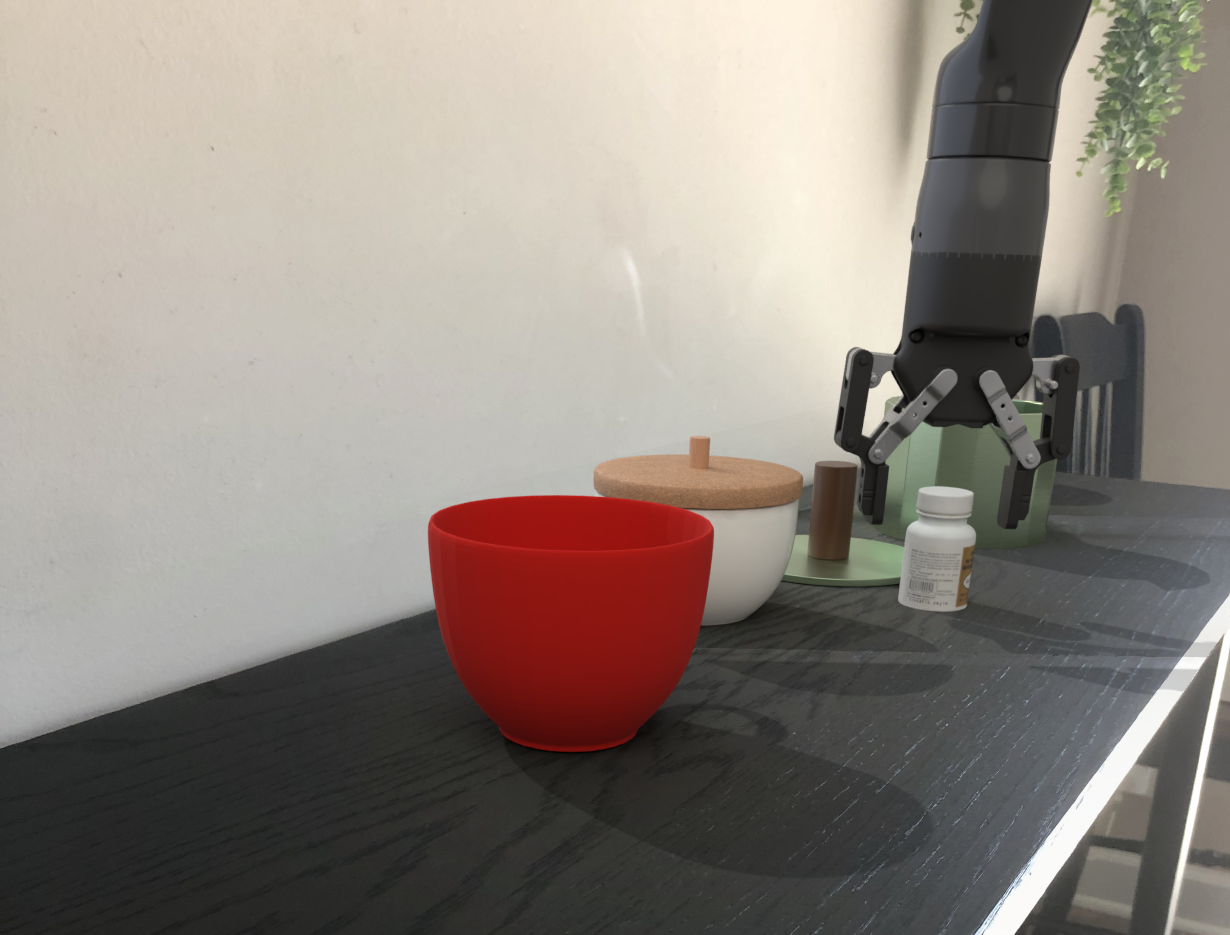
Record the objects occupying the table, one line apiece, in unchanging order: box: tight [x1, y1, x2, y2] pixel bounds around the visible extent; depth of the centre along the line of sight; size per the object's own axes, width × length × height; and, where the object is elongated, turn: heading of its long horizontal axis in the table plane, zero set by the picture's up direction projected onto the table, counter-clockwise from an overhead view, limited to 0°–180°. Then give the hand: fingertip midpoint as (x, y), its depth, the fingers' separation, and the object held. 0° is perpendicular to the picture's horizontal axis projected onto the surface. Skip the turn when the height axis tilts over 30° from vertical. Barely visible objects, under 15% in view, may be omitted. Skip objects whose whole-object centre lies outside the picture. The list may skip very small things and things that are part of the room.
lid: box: [781, 460, 904, 588], centre depth 95 cm, size 15×15×8 cm
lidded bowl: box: [593, 435, 804, 626], centre depth 81 cm, size 13×13×11 cm
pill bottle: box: [897, 486, 976, 612], centre depth 85 cm, size 4×4×8 cm
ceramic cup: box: [427, 494, 714, 753], centre depth 64 cm, size 13×17×10 cm
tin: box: [872, 395, 1058, 550], centre depth 107 cm, size 14×14×10 cm
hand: (940, 525), depth 85 cm, fingers open, 8 cm apart
